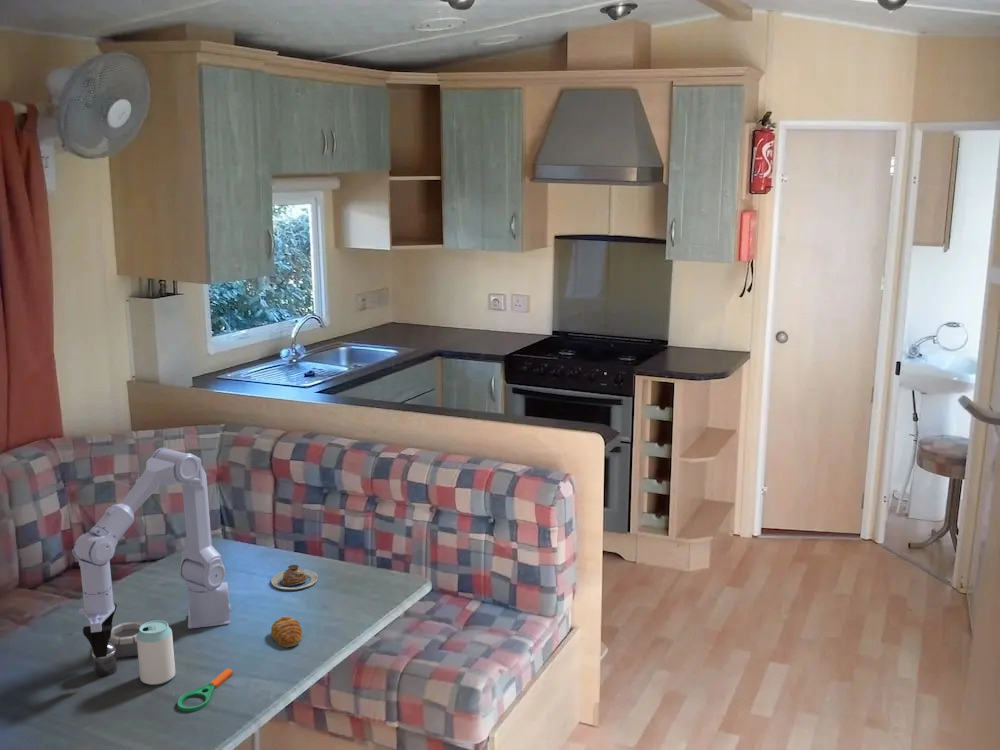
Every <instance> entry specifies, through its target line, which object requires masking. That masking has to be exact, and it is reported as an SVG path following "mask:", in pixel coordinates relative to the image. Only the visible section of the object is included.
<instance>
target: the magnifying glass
mask: <svg viewBox="0 0 1000 750" xmlns="http://www.w3.org/2000/svg"><path fill="white" fill-rule="evenodd" d="M233 674H234V671H233V669H231V668H226V669H224V670H223V671H222V672H220V673H219V674H218V675H217V676H216V677H215V678H214V679H213V680H211V681H210V682H209V683H207V684H205V685H203V686H200V687H198V688H196V689H193V690H191V691H188V692H186V693H184V694H183V695H181V696H180V697H179V698H178V700H177V705H176V706H177V709H178V711H181V712H183V713H184V712H185V713H191V712H196V711H199V710H202V709H203V708H205V707H207V706H208V705H209V703H210V701H211V699H212V696H213V693H214V691H215V690H216V689H217V688H218V687H220V686H221V685H222V684H224V683H225V681H227V680H228V679H229V678H231V676H233ZM219 685H220V686H219ZM214 689H215V690H214ZM193 697H200V698H204V699H205V700H204V702H202V703H200V704H198V705H195V706H186V705H183V702H184V701H186V700H188V699H190V698H193Z"/></svg>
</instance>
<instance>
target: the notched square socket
mask: <svg viewBox="0 0 1000 750" xmlns="http://www.w3.org/2000/svg"><path fill="white" fill-rule="evenodd" d="M143 624H144V622H140V621H129V622H122V623H119V624H117V625H115V626H114V627H113V626H112V630H111V636H110V639H109V640H108V641H112V642H114V644H115V649H116V653H115V654H116V659H117V658H122V657H123V658H125V657H131V656H138V648H137V634H138V632H139V628H140V626H141V625H143Z"/></svg>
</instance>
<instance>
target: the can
mask: <svg viewBox="0 0 1000 750" xmlns="http://www.w3.org/2000/svg"><path fill="white" fill-rule="evenodd" d="M173 637H174V636H173V630H172V628H171V627H170V626H169V623H168V622H167V621H165V620H151V621H147V622H145V623H143V625H141V626H140V628H139V632H138V634H137V648H138V655H137V659H138V668H139V670H138V671H139V680H140V681H141V682H142V683H144V684H146V685H149V686H158V685H163V684H165V683H168V682H169V681H170V680H172V679H173V677H175V676H176V664H175V661H176V660H175V652H174V651H175V650H174V641H173Z"/></svg>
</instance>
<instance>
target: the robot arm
mask: <svg viewBox="0 0 1000 750" xmlns="http://www.w3.org/2000/svg"><path fill="white" fill-rule="evenodd" d="M177 483H178V484H180V486H181V488H182V499H183V511H184V522H185V526H184V527H185V535H186V549H185V550H183V552H181V553H180V556H181V557H180V558H181V561H180V565H179V568H178V569H179V570H178V573H179V577H180V578H181V579H182V580H184V582H185V583H184V584H185V586H187V599H188V609H189V610H188V618H187V629H188V630H189V629H191V630H192V629H197V628H198V629H199V628H207V627H213V626H223V625H229V624H230V623H231V618H230V617H231V612H232V608H231V607H232V605H231V603H230V598H229V584H228V582H227V581H224V580H225V577H226V567H225V565H224V563H223V562H222V556H221V553H220V552H218V550H217V549H215V547H214V546H213V545H212V544H213V543H212V532H211V530H212V529H211V519H210V507H209V506H210V505H209V504H210V503H209V492H208V478H207V472H206V471H205V469H204V468H203V466H202V458H200V457H198V456H197V455H196V454H195V455H194V454H193V453H186V452H182V451H178V450H174V449H170V448H168V447H159V448H158V449H156V450H155V451H154V452H153V454H152V455H151V457H149V458H148V459H147V460H146V463H145V469H144V471H143V473H142V474H141V475H140V476H139V478H138V479H137V481H136V482H135V483H134V485H133V486H132V487H131V488H130V490H129V492H128V493H127V494H126V496H125V497H124V499H122V501H121V503H118V504H117V503H116V504H112V505H111V506H110V507H107V508H106V510H105V511H104V514H103V515H102V517H100V518H99V520H98V521H97V522H96V523H95V525H94V526H93V527H91V528H90V531H88V532H85V533H83V534H81V535H80V536H79V537H78V538H77V539H76V541H74V546H73V547H74V548H73V549H72V550H71V552H72V555H73V556H74V558H76V559H77V560H78V566H79V567H80V577H81V578H80V579H81V586H82V597H83V607H80V608H79V609H78V615H79V616H84V617H85V618H86V620H87V621H88V623H89V626H83V628H82V633H83V636H85V638H86V639H87V640H88V642H89V644H90V646H91V650H92V649H93V652H94V655H95V657H96V658H99V657H106V655H107V649H108V640H109V639H110V636H111V630H112V628H113V618H114V616H115V613H116V611H117V607H118V605H117V604H116V603H114V595H113V594H114V593H113V583H112V574H111V573H112V572H111V563H110V560H111V559H113V557H114V555H115V553H116V546H118V543H119V540H120V539H121V538H122V536H123V535H125V533H126V532H127V531H128V530H129V528H130V527H131V526H132V524H133V523H134V522H135V513H136V511H137V510H139V508H140V507H141V506H142V505H143V504H144V503H145V502H146V501H147V500H148V498H150V497H151V495H153V494H154V492H156V490H157V489H158V488H160V487H163V486H170V485H171V486H172V485H176V484H177Z"/></svg>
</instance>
